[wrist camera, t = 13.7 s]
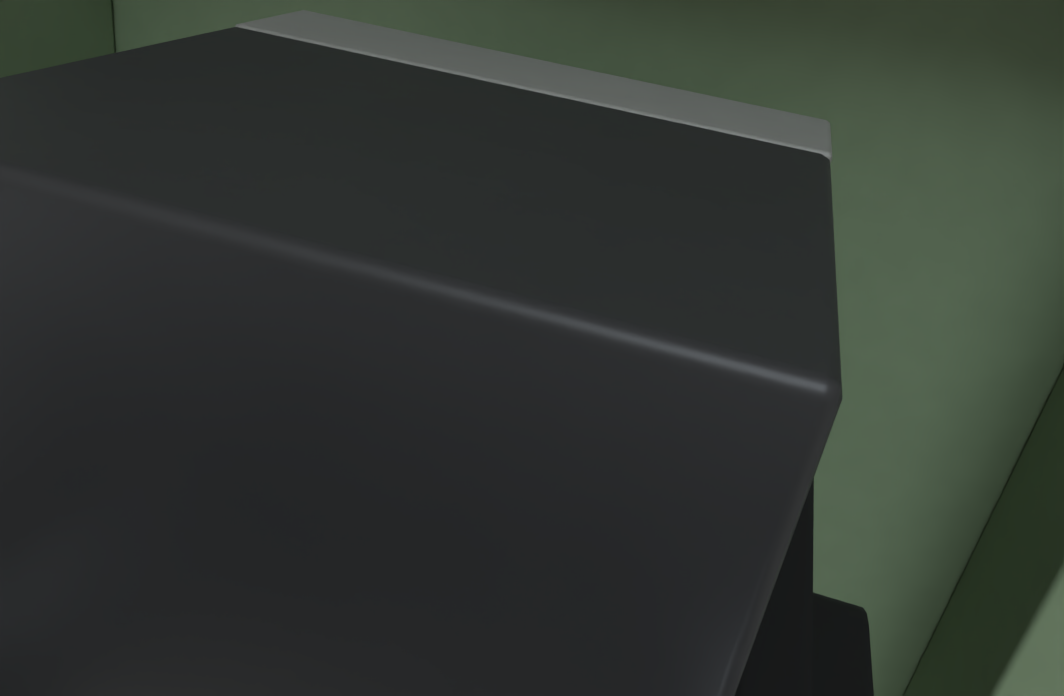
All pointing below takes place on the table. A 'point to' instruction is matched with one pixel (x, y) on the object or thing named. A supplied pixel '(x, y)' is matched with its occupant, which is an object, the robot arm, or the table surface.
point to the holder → (843, 272)
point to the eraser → (400, 370)
